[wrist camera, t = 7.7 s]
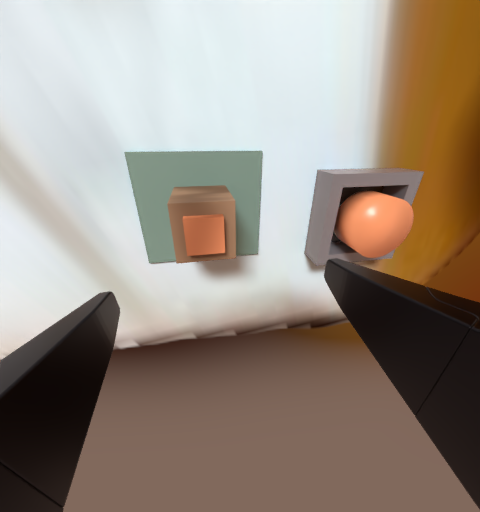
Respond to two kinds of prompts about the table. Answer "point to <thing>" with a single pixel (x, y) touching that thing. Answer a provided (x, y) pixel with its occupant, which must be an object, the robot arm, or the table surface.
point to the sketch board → (194, 174)
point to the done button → (373, 222)
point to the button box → (328, 200)
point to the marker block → (202, 223)
